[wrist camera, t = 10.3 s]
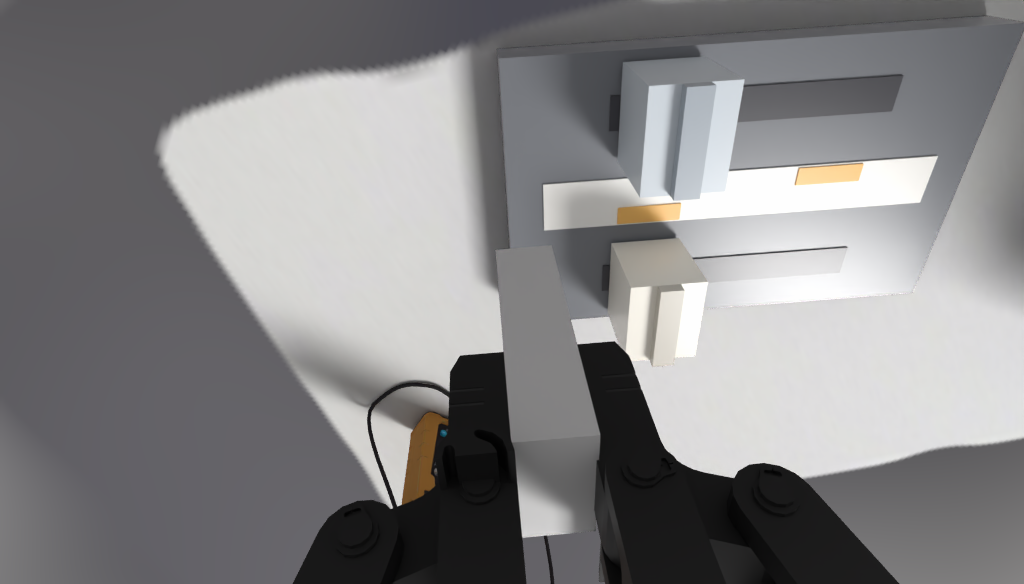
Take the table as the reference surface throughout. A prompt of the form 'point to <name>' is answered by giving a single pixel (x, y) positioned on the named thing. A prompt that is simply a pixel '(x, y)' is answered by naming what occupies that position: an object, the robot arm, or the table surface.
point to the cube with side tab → (677, 126)
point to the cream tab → (655, 300)
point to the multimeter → (423, 455)
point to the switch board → (760, 156)
